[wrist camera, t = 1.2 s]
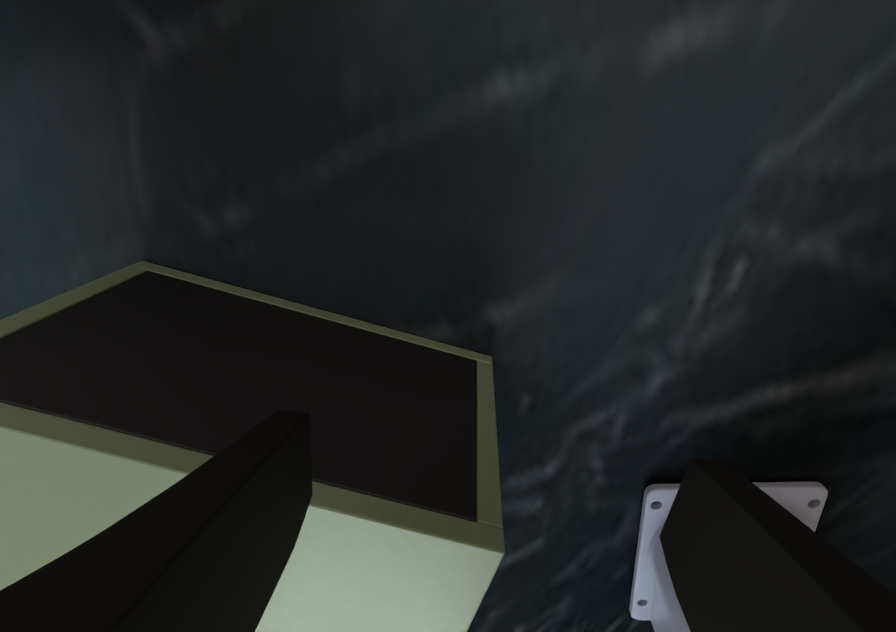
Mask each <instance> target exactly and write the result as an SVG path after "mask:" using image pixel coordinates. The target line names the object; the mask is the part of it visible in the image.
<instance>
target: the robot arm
mask: <svg viewBox="0 0 896 632" xmlns="http://www.w3.org/2000/svg"><path fill="white" fill-rule="evenodd" d="M312 494H313V492H312V463H311V434H310V413H305V412H296V411H288V410H280V409H278V410H277V411H275V412H274V413H272V414H271V415H269V416H268V417H267V418H265V419H264V420H262V421H261V422H260V423H258V424H257V425H256V426H254V427H253V428H252V429H250V430H249V431H247V432H246V433H245V434H243V435H242V436H241V437H239V438H238V439H237V440H235V441H234V442H233V443H231V444H230V445H228V446H227V447H226V448H224V449H223V450H222V451H220V452H219V453H217V454H216V455H215V456H213V457H212V458H211V459H209V460H208V461H206V462H205V463H204V464H202V465H201V466H199V467H198V468H196V469H195V470H194V471H192V472H191V473H189V474H188V475H187V476H185V477H184V478H182V479H181V480H180V481H178V482H177V483H175V484H174V485H172V486H171V487H169V488H168V489H166V490H165V491H163V492H162V493H160V494H159V495H157V496H156V497H154V498H152V499H151V500H149V501H148V502H146V503H145V504H143V505H142V506H140V507H139V508H137V509H136V510H134V511H133V512H131V513H130V514H128V515H127V516H125V517H124V518H122V519H120V520H119V521H117V522H116V523H114V524H113V525H111V526H110V527H108V528H107V529H105V530H103V531H102V532H100V533H99V534H97V535H95V536H94V537H92V538H90V539H89V540H87V541H85V542H84V543H82V544H80V545H79V546H77V547H75V548H74V549H72V550H70V551H69V552H67V553H65V554H64V555H62V556H60V557H58V558H57V559H55V560H53V561H51V562H50V563H48V564H46V565H44V566H43V567H41V568H39V569H37V570H36V571H34V572H32V573H30V574H29V575H27V576H25V577H23V578H22V579H20V580H18V581H16V582H15V583H13V584H11V585H9V586H7V587H6V588H4V589H2V590H0V632H255V630H256V628H257V626H258V624H259V622H260V620H261V618H262V616H263V614H264V611H265V609H266V607H267V605H268V603H269V601H270V599H271V597H272V595H273V592H274V590H275V588H276V586H277V584H278V582H279V580H280V577H281V575H282V573H283V571H284V569H285V567H286V565H287V562H288V560H289V558H290V556H291V554H292V551H293V549H294V547H295V544H296V541H297V539H298V536H299V533H300V530H301V527H302V525H303V522H304V519H305V516H306V513H307V510H308V507H309V504H310V500H311V497H312ZM827 495H828V491H827V489H826V488H825V487H824V486H823V485H822V484H821V483H819V482H751V481H749V480H748V479H747V478H745V477H744V476H743V475H741V474H740V473H739V472H737V471H736V470H735V469H733V468H732V467H730V466H729V465H727V464H726V463H724V462H718V461H709V460H701V459H693V458H691V460H690V462H689V465H688V467H687V470H686V472H685V475H684V477H683V480H682V482H681V484H652V485H650V486H648V487H647V488H646V489H645V491H644V497H643V505H642V513H641V520H640V528H639V536H638V544H637V552H636V559H635V567H634V575H633V583H632V591H631V598H630V606H629V610H630V613H631V616H632V617H633V618H634V619H636V620H651V622H652V625H653V628H654V631H655V632H896V595H895V594H894V593H893V592H891V591H890V590H889V589H888V588H886V587H885V586H884V585H882V584H881V583H880V582H878V581H877V580H876V579H874V578H873V577H872V576H870V575H869V574H868V573H867V572H865V571H864V570H863V569H861V568H860V567H859V566H858V565H856V564H855V563H854V562H852V561H851V560H850V559H849V558H847V557H846V556H845V555H843V554H842V553H841V552H840V551H838V550H837V549H836V548H834V547H833V546H832V545H831V544H829V543H828V542H827V541H826V540H824V539H823V538H822V537H821V536H819V535H818V534H817V533H815V530H816V527H817V524H818V521H819V518H820V516H821V513H822V510H823V507H824V504H825V501H826V498H827ZM656 501H658V502H656ZM653 502H656V503H653Z"/></svg>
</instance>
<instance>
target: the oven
mask: <svg viewBox="0 0 896 632" xmlns="http://www.w3.org/2000/svg"><path fill="white" fill-rule="evenodd" d="M492 365H493V363H492V357H491V356H488V355H484V354H481V353H477V352H474V351H470V350H466V349H463V348H459V347H455V346H452V345H448V344H444V343H441V342H437V341H433V340H430V339H426V338H423V337H419V336H415V335H412V334H408V333H404V332H401V331H397V330H393V329H390V328H386V327H382V326H379V325H375V324H372V323H368V322H364V321H361V320H357V319H353V318H350V317H346V316H342V315H339V314H335V313H332V312H328V311H324V310H321V309H317V308H313V307H310V306H306V305H302V304H299V303H295V302H291V301H288V300H284V299H281V298H277V297H273V296H270V295H266V294H262V293H259V292H255V291H251V290H248V289H244V288H240V287H237V286H233V285H230V284H226V283H222V282H219V281H215V280H211V279H208V278H204V277H200V276H197V275H193V274H190V273H186V272H182V271H179V270H175V269H171V268H168V267H164V266H160V265H157V264H153V263H149V262H146V261H140V262H138V263H136V264H133V265H132V266H128V267H125V268H123V269H120V270H118V271H116V272H113V273H111V274H109V275H106V276H104V277H101V278H99V279H97V280H94V281H92V282H90V283H87V284H85V285H82V286H80V287H78V288H75V289H73V290H71V291H68V292H66V293H64V294H61V295H59V296H56V297H54V298H52V299H49V300H47V301H45V302H42V303H40V304H37V305H35V306H33V307H30V308H28V309H26V310H23V311H21V312H18V313H16V314H14V315H11V316H9V317H7V318H4V319H2V320H0V590H2V589H4V588H6V587H7V586H9V585H11V584H13V583H15V582H16V581H18V580H20V579H22V578H23V577H25V576H27V575H29V574H30V573H32V572H34V571H36V570H37V569H39V568H41V567H43V566H44V565H46V564H48V563H50V562H51V561H53V560H55V559H57V558H58V557H60V556H62V555H64V554H65V553H67V552H69V551H70V550H72V549H74V548H75V547H77V546H79V545H80V544H82V543H84V542H85V541H87V540H89V539H90V538H92V537H94V536H95V535H97V534H99V533H100V532H102V531H103V530H105V529H107V528H108V527H110V526H111V525H113V524H114V523H116V522H117V521H119V520H120V519H122V518H124V517H125V516H127V515H128V514H130V513H131V512H133V511H134V510H136V509H137V508H139V507H140V506H142V505H143V504H145V503H146V502H148V501H149V500H151V499H152V498H154V497H156V496H157V495H159V494H160V493H162V492H163V491H165V490H166V489H168V488H169V487H171V486H172V485H174V484H175V483H177V482H178V481H180V480H181V479H182V478H184V477H185V476H187V475H188V474H189V473H191V472H192V471H194V470H195V469H196V468H198V467H199V466H201V465H202V464H204V463H205V462H206V461H208V460H209V459H211V458H212V457H213V456H215V455H216V454H217V453H219V452H220V451H222V450H223V449H224V448H226V447H227V446H228V445H230V444H231V443H233V442H234V441H235V440H237V439H238V438H239V437H241V436H242V435H243V434H245V433H246V432H247V431H249V430H250V429H252V428H253V427H254V426H256V425H257V424H258V423H260V422H261V421H262V420H264V419H265V418H267V417H268V416H269V415H271V414H272V413H274V412H275V411H277V410H278V409H280V410H288V411H296V412H305V413H310V434H311V463H312V492H313V494H312V497H311V500H310V504H309V507H308V510H307V513H306V516H305V519H304V522H303V525H302V527H301V530H300V533H299V536H298V539H297V541H296V544H295V547H294V549H293V551H292V554H291V556H290V558H289V560H288V562H287V565H286V567H285V569H284V571H283V573H282V575H281V577H280V580H279V582H278V584H277V586H276V588H275V590H274V592H273V595H272V597H271V599H270V601H269V603H268V605H267V607H266V609H265V611H264V614H263V616H262V618H261V620H260V622H259V624H258V626H257V628H256V630H255V632H467V630H468V628H469V626H470V624H471V622H472V620H473V618H474V616H475V614H476V612H477V610H478V608H479V606H480V603H481V601H482V599H483V597H484V595H485V593H486V591H487V589H488V587H489V585H490V583H491V581H492V579H493V576H494V574H495V572H496V570H497V568H498V566H499V564H500V562H501V560H502V558H503V556H504V554H505V547H504V532H503V529H502V528H503V522H502V506H501V490H500V475H499V459H498V443H497V427H496V411H495V395H494V380H493V366H492Z"/></svg>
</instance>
